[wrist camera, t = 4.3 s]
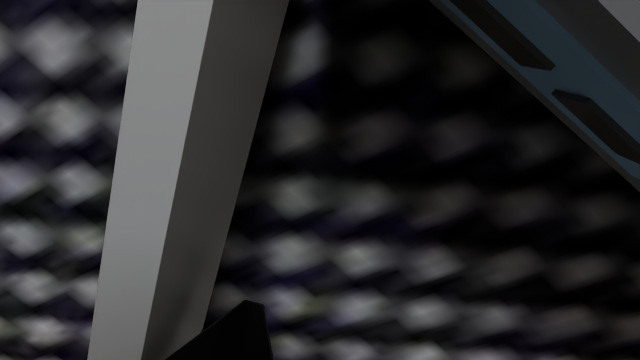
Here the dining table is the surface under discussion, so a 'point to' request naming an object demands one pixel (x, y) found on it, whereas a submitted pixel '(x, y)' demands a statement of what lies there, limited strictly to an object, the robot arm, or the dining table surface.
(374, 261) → the dining table surface
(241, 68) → the side door
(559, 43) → the grey appliance box
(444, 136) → the dining table surface
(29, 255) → the dining table surface
